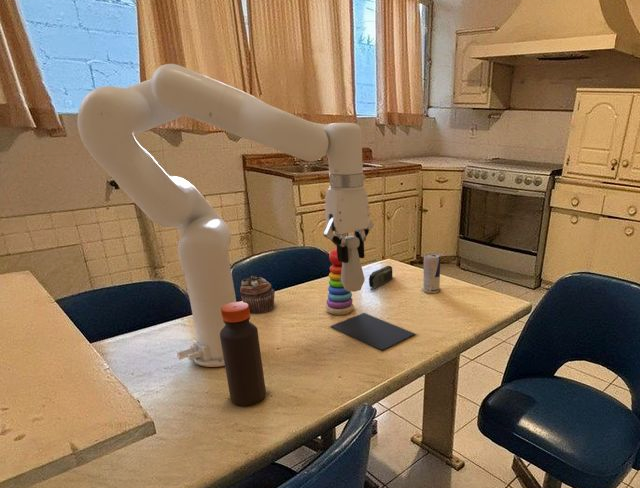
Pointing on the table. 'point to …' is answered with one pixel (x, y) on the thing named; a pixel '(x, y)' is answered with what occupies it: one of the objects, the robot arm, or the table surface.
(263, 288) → the cupcake
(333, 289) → the stacking toy
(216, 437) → the table surface
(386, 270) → the mobile phone
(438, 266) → the energy drink
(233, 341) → the bottle
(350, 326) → the mat
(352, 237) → the salt shaker
